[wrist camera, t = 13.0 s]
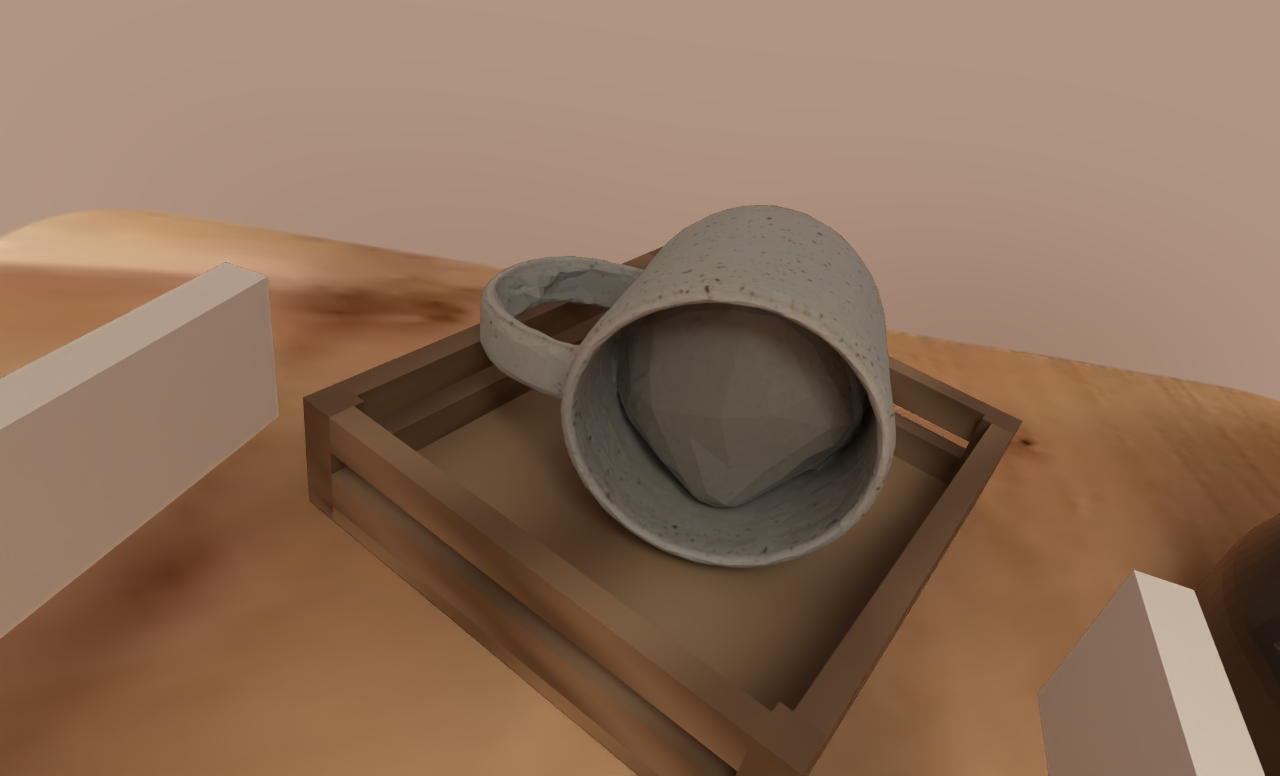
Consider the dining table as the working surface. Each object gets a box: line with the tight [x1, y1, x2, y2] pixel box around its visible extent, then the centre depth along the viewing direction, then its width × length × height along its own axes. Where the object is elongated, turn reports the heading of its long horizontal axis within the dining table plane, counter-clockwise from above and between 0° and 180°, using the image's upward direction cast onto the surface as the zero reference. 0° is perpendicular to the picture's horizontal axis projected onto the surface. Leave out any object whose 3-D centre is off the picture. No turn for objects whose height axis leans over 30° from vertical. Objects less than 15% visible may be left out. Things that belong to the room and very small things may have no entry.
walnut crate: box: [303, 246, 1022, 776], centre depth 23 cm, size 14×15×3 cm
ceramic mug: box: [480, 205, 896, 568], centre depth 21 cm, size 11×8×8 cm
